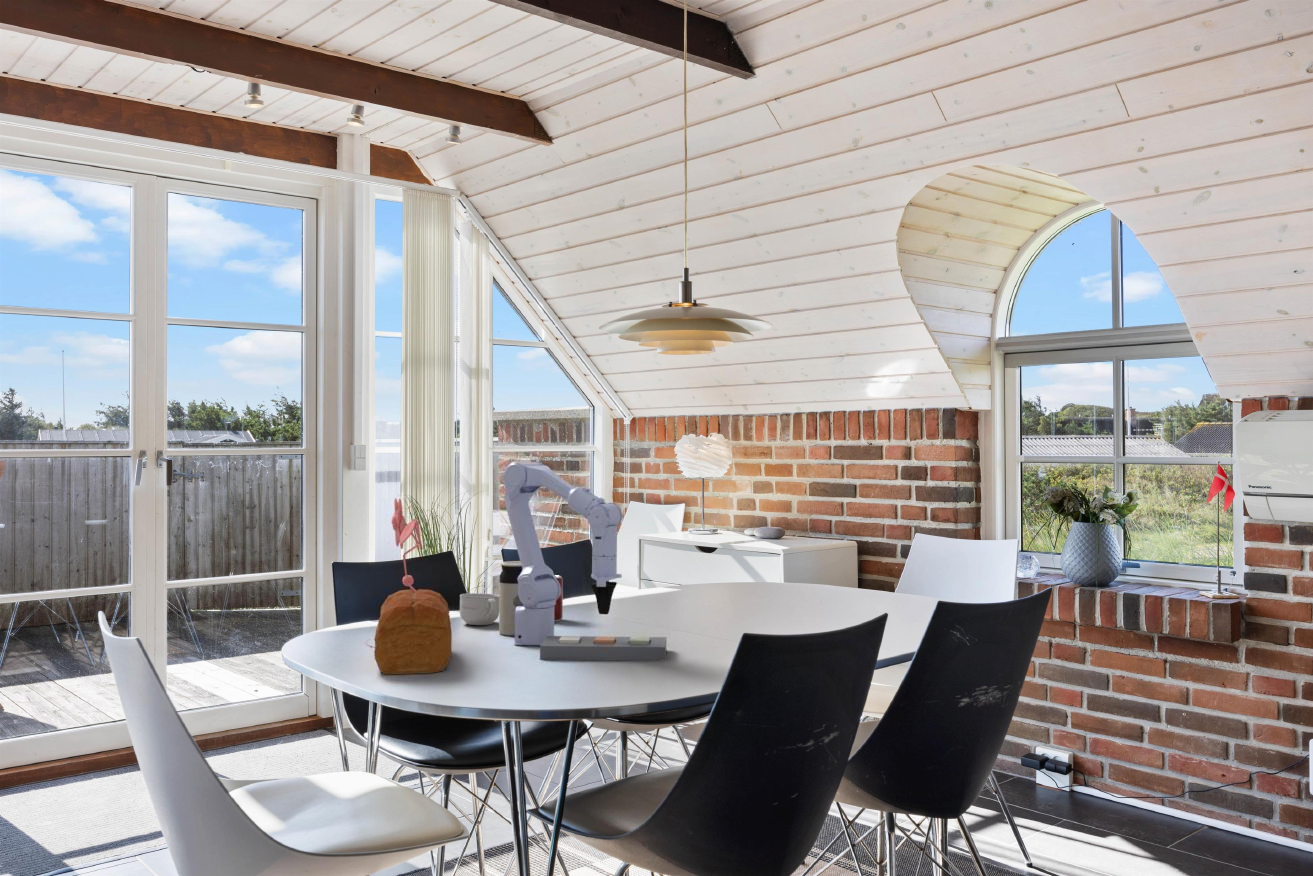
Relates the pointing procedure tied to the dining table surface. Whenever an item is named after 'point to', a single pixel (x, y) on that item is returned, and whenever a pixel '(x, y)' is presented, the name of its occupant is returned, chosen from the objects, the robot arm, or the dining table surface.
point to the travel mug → (508, 596)
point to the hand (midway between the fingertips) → (603, 613)
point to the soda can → (559, 602)
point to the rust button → (604, 640)
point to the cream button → (570, 639)
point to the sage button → (639, 640)
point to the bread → (413, 633)
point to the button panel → (603, 649)
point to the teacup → (479, 608)
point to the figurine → (404, 537)
